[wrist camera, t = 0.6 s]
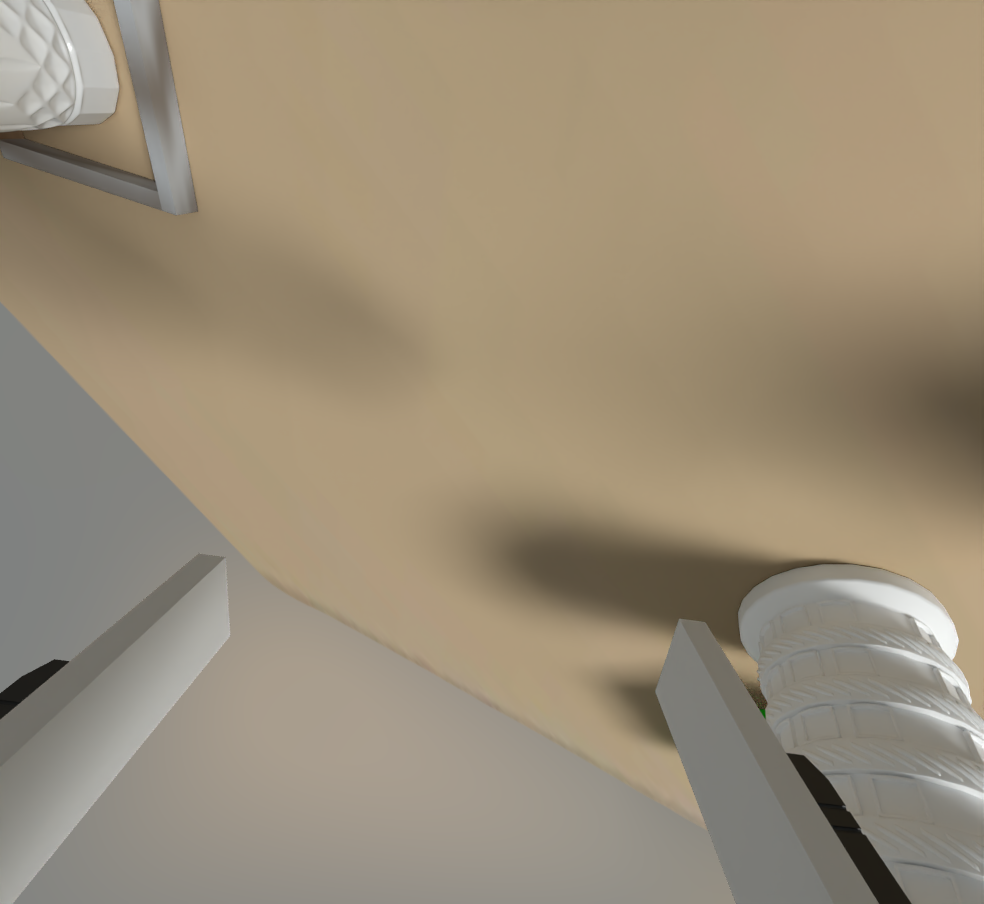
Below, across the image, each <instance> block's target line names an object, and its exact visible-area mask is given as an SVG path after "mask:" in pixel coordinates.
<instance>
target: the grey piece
mask: <svg viewBox="0 0 984 904" xmlns="http://www.w3.org/2000/svg"><path fill="white" fill-rule="evenodd" d="M114 4H115V9H116V13H117V17H118V22H119V26H120V30H121V34H122V39H123V43H124V47H125V52H126V56H127V60H128V65H129V69H130V73H131V78H132V82H133V86H134V91H135V95H136V99H137V104H138V108H139V112H140V117H141V121H142V125H143V130H144V134H145V138H146V143H147V147H148V151H149V156H150V160H151V164H152V168H153V173H154V177H155V181H154V180H151V179H148V178H145V177H142V176H139V175H135V174H132V173H129V172H126V171H123V170H120V169H117V168H114V167H111V166H108V165H105V164H101V163H98V162H95V161H92V160H89V159H86V158H83V157H80V156H77V155H74V154H71V153H68V152H64V151H61V150H58V149H55V148H52V147H49V146H46V145H43V144H40V143H37V142H34V141H30V140H27V139H25V138H24V135H23V133H22V130H19V131H12V132H2V133H0V150H1V152H2V155H3V157H4V158H6V159H9V160H12V161H15V162H18V163H21V164H24V165H27V166H30V167H33V168H36V169H39V170H42V171H45V172H48V173H51V174H54V175H57V176H60V177H63V178H66V179H69V180H72V181H75V182H78V183H81V184H84V185H87V186H90V187H93V188H96V189H99V190H102V191H105V192H108V193H111V194H114V195H117V196H120V197H123V198H126V199H129V200H132V201H135V202H138V203H141V204H144V205H147V206H150V207H153V208H156V209H159V210H162V211H165V212H168V213H171V214H174V215H181V214H186V213H192V212H198V209H197V204H196V198H195V193H194V187H193V182H192V177H191V171H190V166H189V161H188V155H187V150H186V145H185V139H184V134H183V129H182V123H181V118H180V112H179V107H178V102H177V96H176V91H175V86H174V80H173V75H172V70H171V64H170V59H169V54H168V48H167V43H166V38H165V32H164V27H163V21H162V16H161V11H160V5H159V0H114Z"/></svg>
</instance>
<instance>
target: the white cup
mask: <svg viewBox="0 0 984 904" xmlns="http://www.w3.org/2000/svg"><path fill="white" fill-rule="evenodd" d="M118 93H119V82H118V77H117V71H116V65H115V60H114V55H113V52H112V50H111V48H110V45H109V43H108V41H107V38H106V36H105V34H104V31H103V29H102V27H101V25H100V22H99V20H98V18H97V16H96V15H95V14H94V12H93V11H92V10H91V8H90V7H89V5H88V4H87V3H86V1H85V0H0V133H2V132H12V131H19V130H39V129H46V128H50V127H55V126H58V125H59V126H65V125H89V124H101V123H102V122H104V121H105V120H106V119H107V118H108V117H110V116H111V115H112V114H113V113H114V112H115V109H116V104H117V99H118Z"/></svg>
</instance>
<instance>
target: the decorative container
mask: <svg viewBox="0 0 984 904" xmlns="http://www.w3.org/2000/svg"><path fill="white" fill-rule="evenodd" d="M738 620H739V630H740V638H741V642H742V644H743V646H744V647H745V649H746V651H747V653H748V654H749V655H750V656H751V657H752V658H753V659H754V660H755V661H756V662H757V663H758V670H757V673H759V677H758V678H757V680H758V681H760V688H761V691H762V693H763V695H764V697H765V699H766V700H767V703H768V705H767V707H766V709H765V712H766V713H765V715H766V719H765V720H766V721H767V723H768V725H769V726H770V728H771V730H772V731H773V733H774V734H775V736H776V738H777V739H778V741H779V742H780V744H781V746H782V747H783V749H784V751H785V752H786V753H791V754H799V755H804V756H805V757H806V758H807V759H808V760H809V761H810V762H811V763H812V764H813V765H814V766H815V767H816V768H817V769H818V770H819V771H820V772H821V773H822V774H823V775H824V776H825V777H826V778H827V779H828V780H829V781H830V783H831V784H832V786H833V787H834V789H835V790H836V792H837V793H838V795H839V796H840V798H841V799H842V801H843V802H844V804H845V805H846V810H847V811H850V813H851V814H852V816H853V817H854V819H855V820H856V822H857V823H858V824H859V826H860V827H861V832H862V834H864V835H866V836H867V838H868V839H869V841H870V842H871V844H872V845H873V847H874V848H875V850H876V851H877V853H878V854H879V856H880V857H881V859H882V860H883V862H884V863H885V865H886V866H887V868H888V869H889V871H890V872H891V874H892V875H893V877H894V878H895V880H896V881H897V883H898V884H899V886H900V887H901V889H902V890H903V892H904V893H905V895H906V896H907V898H908V899H909V901H910V902H911V903H912V904H984V720H983V719H982V718H981V717H980V716H979V715H978V714H977V713H976V711H975V710H974V709H973V708H972V707H971V703H972V701H971V698H970V690H969V686H968V682H967V680H966V679H965V676H964V674H963V672H962V671H961V670H960V669H959V667H958V666H957V665H956V664H955V663H954V662H953V661H952V659H953V658H954V657H955V654H956V650H957V646H958V642H959V639H958V636H957V633H956V629H955V626H954V623H953V621H952V620H951V618H950V616H949V614H948V613H947V611H946V609H945V607H944V606H943V605H942V604H941V603H940V601H939V600H938V599H937V598H936V597H935V596H934V595H933V593H932V592H931V591H929V590H928V589H926V588H924V587H923V586H921V585H919V584H918V583H916V582H914V581H913V580H911V579H909V578H907V577H904V576H901V575H898V574H895V573H892V572H889V571H887V570H884V569H878V568H872V567H866V566H860V565H854V564H820V565H814V566H807V567H801V568H795V569H792V570H789V571H786V572H783V573H780V574H777V575H774V576H771V577H770V578H768V579H766V580H765V581H763V582H761V583H760V584H758V585H756V586H755V587H754V588H753V589H752V590H751V591H750V592H749V593H748V594H747V595H746V596H745V597H744V599H743V600H742V603H741V606H740V608H739V611H738Z"/></svg>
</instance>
